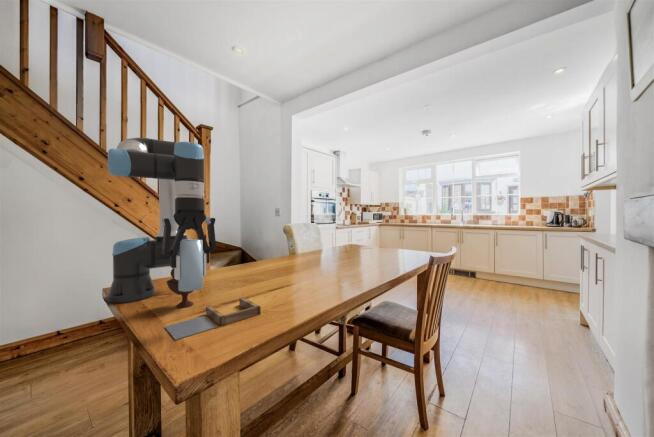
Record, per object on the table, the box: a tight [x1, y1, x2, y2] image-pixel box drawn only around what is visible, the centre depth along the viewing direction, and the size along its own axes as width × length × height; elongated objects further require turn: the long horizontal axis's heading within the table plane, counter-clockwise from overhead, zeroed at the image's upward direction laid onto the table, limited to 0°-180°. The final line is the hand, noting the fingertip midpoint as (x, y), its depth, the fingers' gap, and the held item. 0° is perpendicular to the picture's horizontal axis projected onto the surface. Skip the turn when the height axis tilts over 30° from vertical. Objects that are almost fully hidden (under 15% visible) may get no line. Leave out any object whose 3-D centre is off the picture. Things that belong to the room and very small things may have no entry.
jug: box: [178, 238, 204, 292], centre depth 75 cm, size 6×9×14 cm
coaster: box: [164, 315, 219, 341], centre depth 74 cm, size 11×11×1 cm
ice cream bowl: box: [166, 268, 194, 309], centre depth 92 cm, size 11×11×15 cm
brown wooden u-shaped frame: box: [205, 297, 262, 327], centre depth 84 cm, size 13×13×2 cm
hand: (190, 276), depth 74 cm, fingers closed on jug, 6 cm apart
